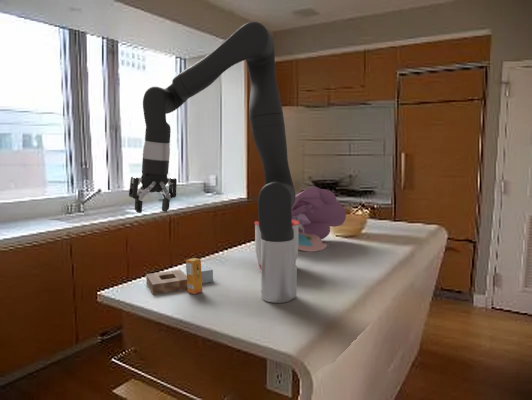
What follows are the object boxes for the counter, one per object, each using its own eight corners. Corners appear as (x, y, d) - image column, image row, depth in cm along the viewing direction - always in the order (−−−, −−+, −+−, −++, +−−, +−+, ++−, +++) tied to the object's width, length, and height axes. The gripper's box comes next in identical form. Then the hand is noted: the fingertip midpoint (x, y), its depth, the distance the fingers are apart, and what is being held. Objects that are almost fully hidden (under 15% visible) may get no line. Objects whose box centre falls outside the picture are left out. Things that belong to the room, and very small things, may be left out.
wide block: (206, 276, 135) (206, 265, 135) (213, 281, 130) (212, 269, 130) (189, 279, 133) (189, 267, 132) (195, 284, 127) (194, 272, 127)
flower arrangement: (302, 269, 159) (312, 201, 150) (255, 249, 172) (261, 186, 163) (342, 243, 186) (352, 185, 177) (299, 228, 199) (306, 172, 190)
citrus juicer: (273, 259, 155) (272, 208, 152) (308, 269, 142) (308, 213, 140) (242, 268, 144) (241, 212, 141) (277, 279, 131) (277, 218, 129)
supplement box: (195, 289, 123) (194, 257, 121) (202, 291, 121) (201, 259, 119) (186, 292, 120) (185, 259, 119) (194, 294, 118) (193, 261, 117)
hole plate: (181, 278, 133) (180, 269, 133) (189, 288, 123) (189, 279, 123) (146, 283, 128) (146, 274, 128) (153, 294, 119) (152, 284, 118)
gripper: (139, 158, 111) (135, 215, 113) (183, 160, 121) (179, 213, 123) (127, 155, 116) (123, 210, 118) (170, 157, 126) (166, 208, 128)
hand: (152, 212), depth 121 cm, fingers open, 8 cm apart
